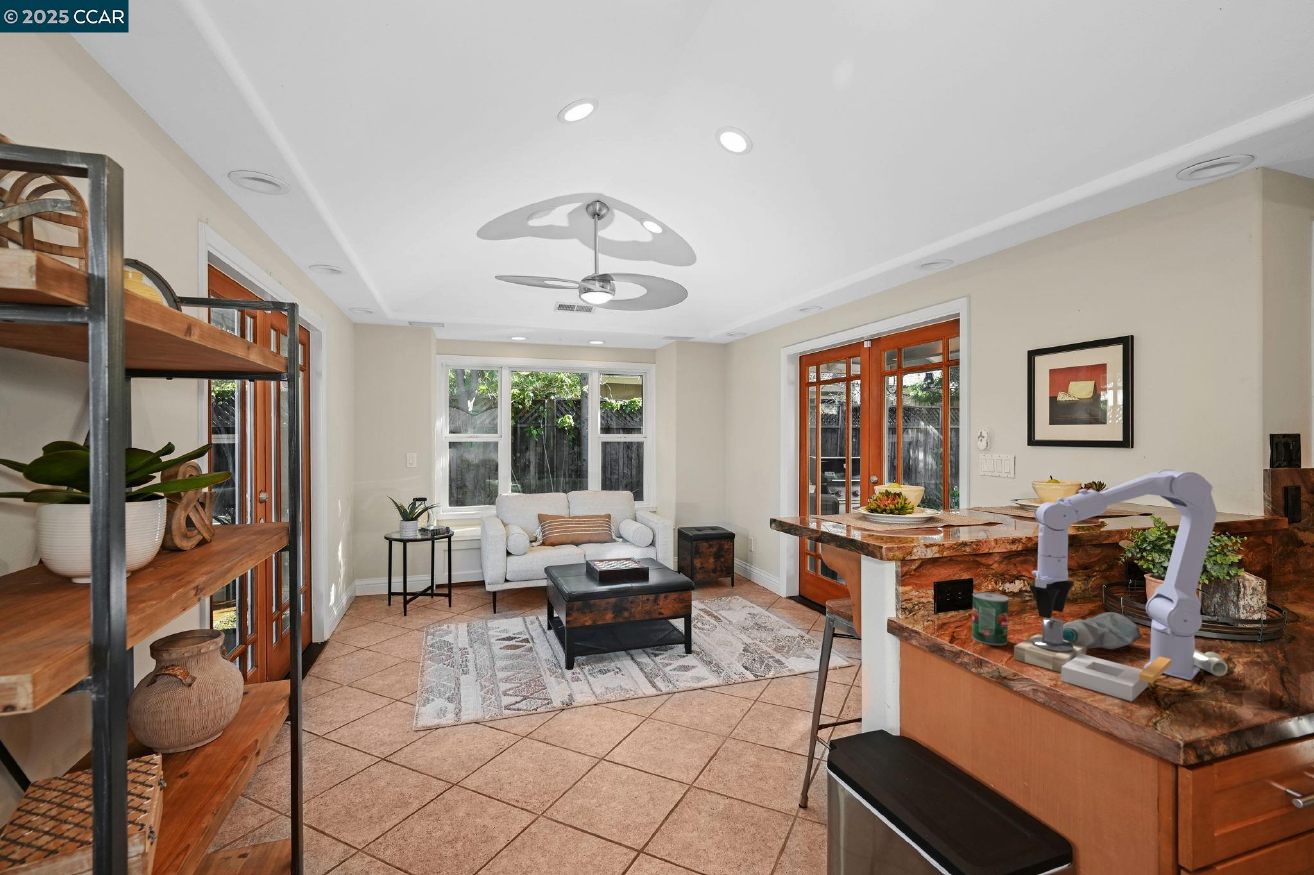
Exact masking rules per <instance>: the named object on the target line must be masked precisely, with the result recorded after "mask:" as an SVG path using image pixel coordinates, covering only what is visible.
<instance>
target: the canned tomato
mask: <svg viewBox="0 0 1314 875" xmlns="http://www.w3.org/2000/svg"><path fill="white" fill-rule="evenodd" d="M1009 600H1010V599H1009V597H1008V596H1005V595H1003V594H1000V593H995V592H988V591H976V592H973V593H972V623H971V638H972V639H973V640H974V641H976V642H978V643H980V644H984V645H990V646H1005V645H1007V644H1008V643H1009V642H1008V636H1009V635H1008V633H1009Z"/></svg>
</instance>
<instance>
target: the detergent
mask: <svg viewBox="0 0 1314 875" xmlns="http://www.w3.org/2000/svg"><path fill="white" fill-rule="evenodd" d="M1142 638H1143V635H1142V634H1141V631H1140V629H1139V626H1138V625H1137V624H1136V623H1135V621H1133V620H1132V619H1130V618H1128V617H1127V616H1125V615H1123V614H1120V613H1117V612H1113V611H1112V612H1111V611H1109V612H1103V613H1100V614H1097V615H1096V616H1094V617H1089V618H1086V619H1075V620H1073V621H1072V620H1071V621H1067V622H1066V623H1063V640H1065V641H1068V642H1073V643H1077V644H1081V645H1086V650H1087V649H1095V648H1102V649H1106V650H1115V649H1119V648H1122V647H1125V646H1128V645H1131V644H1133V643H1135V642H1136V641H1138V640H1140V639H1142Z"/></svg>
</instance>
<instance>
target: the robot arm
mask: <svg viewBox="0 0 1314 875" xmlns="http://www.w3.org/2000/svg"><path fill="white" fill-rule="evenodd" d="M1212 491H1213V485H1212V484H1211V483H1210V482H1209V481H1208V480H1206V478H1205V477H1204V476H1202V475H1201V474H1199V473H1197V472H1195V471H1193V472H1192V471H1180V470H1179V471H1178V470H1175V469H1174V470H1173V469H1161V470H1159V471H1156V472H1149V473H1146V474H1144V475H1142V476H1139V477H1137V478H1133V479H1131V480H1128V481H1126V482H1123V483H1121V484H1118V485H1115V486H1113V487H1110V488H1108V489H1104V490H1102V491H1098V490H1096V489H1086V488H1082V489H1079V490H1077V492H1078V493H1076V494H1073V495H1069V496H1066V497H1064V498H1063V497H1058V498H1056V502H1052V501H1047V502H1043V503H1042V504H1040V505H1039V507H1037V509H1036V512H1034V518H1035V520H1036V521H1037V523H1038V536H1037V537H1038V538H1037V541H1038V544H1037V547H1038V548H1037V570H1031V574H1032V575H1033V576H1036V577H1035V578H1034V580H1035V581H1034V582H1032V583H1029V584H1028V585H1029V586H1028V587H1029V590H1030V592H1031V593H1032V595H1033V598H1034V601H1035V603H1036V609H1037V613H1038V615H1039V617H1041V618H1052V615H1053V611H1054V612H1059V613H1063V611H1064V609H1065V606H1066V602H1067V598H1068V595H1069V594H1070V591H1071V590H1072V588H1073V587H1074V585H1075V582H1074V581H1072V580H1069V570H1068V562H1069V560H1068V559H1069V558H1068V557H1069V556H1068V554H1069V549H1068V548H1069V529H1070V527H1072V525H1073V524H1075V523H1077V522H1080V521H1084V520H1087V519H1089V518H1093V517H1096V516H1100V515H1102V514H1105V512H1106V510H1107V509H1108V507H1109V506H1112V505H1114V504H1118V503H1121V502H1125V501H1129V500H1132V499H1136V498H1139V497H1143V496H1146V495H1151V496H1159V497H1161V499H1164V500H1166V501H1168V502H1169V503H1171V505H1172V506H1173V507H1174V508H1176V510H1177V511H1178V512H1179V513H1180V515H1181V518H1180V522H1179V527H1178V529H1177V534H1176V537H1175V541H1174V544H1173V548H1172V552H1171V555H1170V559H1169V562H1168V566H1167V569H1166V570H1167V571H1166V574H1165V576H1164V581H1163V583H1161V584H1160V585H1159V586H1156V588H1155V590H1154V593H1153V594H1152V596H1151V597H1150V598H1149V599H1148V600H1147V602H1146V604H1145V611H1146V614H1147V615H1148V617H1149V618H1150V619H1151V624H1150V625H1151V627H1150V628H1151V629H1150V652H1149V653H1150V654H1149V655H1150V656H1149V658H1150V659H1149V662H1147V663H1145V665H1144V666H1143V669H1145V668H1147V667H1148V666H1149V665H1150V664H1151V663H1152V662H1153V661H1154V660H1156V659H1157V658H1158V657H1159V656H1160V657H1164V658H1168V659H1171V666H1170V667H1169V668H1167V669H1166V670H1165V671H1164V672H1163V673H1162V674H1163V675H1164V674H1165V675H1167V676H1171V677H1176V678H1180V679H1182V680H1183V679H1184V680H1186V681H1187V680H1188V681H1192V680H1193V679H1194V678H1195V677H1196V675H1197V674H1198V673H1200V671H1201V668H1199V667H1197V666H1195V665H1194V658H1195V649H1196V641H1195V633H1197V632H1198V631H1199V630H1200V629H1201V627H1202V623H1203V618H1202V615H1201V607H1202V602H1201V601H1200V599H1199V597H1198V594H1197V593H1196V591H1197V588H1198V584H1199V581H1200V577H1201V574H1202V570H1203V568H1204V562H1205V558H1206V555H1207V551H1208V548H1209V544H1210V540H1211V538H1212V534H1213V530H1214V527H1215V523H1216V520H1217V514H1218V511H1217V507H1216V504H1215V501H1214V499H1213V494H1212Z"/></svg>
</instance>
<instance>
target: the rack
mask: <svg viewBox="0 0 1314 875" xmlns="http://www.w3.org/2000/svg"><path fill="white" fill-rule="evenodd" d="M1035 637H1042V633H1041V634H1040V633H1036V634H1035V635H1033V636H1030V637H1029V638H1027V639H1025V640H1022V641H1021V642H1020V643H1018V644H1015V645H1014V646H1013V660H1015V661H1016V660H1017V661H1019V662H1023V663H1026V664H1030V665H1034V666H1037V667H1041V668H1044V669H1048V670H1051V671H1053V672H1054V671H1055V672H1057V673H1061V667H1062V666H1063V665H1065V664H1066V663H1068V662H1069V661H1071V660H1072V659H1074V658H1075V657H1077V656H1078V655H1080V654H1084V655H1087V649H1086V645H1081V644H1077V643H1073V642H1068V641H1065V640H1064V639H1063V641H1065V642H1068V643H1070V644H1072V645H1073V651H1071V652H1056V651H1051V650H1046V649H1043V648H1040V647H1037V646H1035V645H1034V644H1032V638H1035Z"/></svg>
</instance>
